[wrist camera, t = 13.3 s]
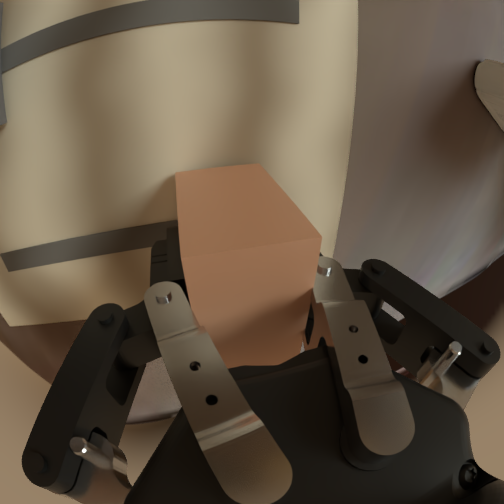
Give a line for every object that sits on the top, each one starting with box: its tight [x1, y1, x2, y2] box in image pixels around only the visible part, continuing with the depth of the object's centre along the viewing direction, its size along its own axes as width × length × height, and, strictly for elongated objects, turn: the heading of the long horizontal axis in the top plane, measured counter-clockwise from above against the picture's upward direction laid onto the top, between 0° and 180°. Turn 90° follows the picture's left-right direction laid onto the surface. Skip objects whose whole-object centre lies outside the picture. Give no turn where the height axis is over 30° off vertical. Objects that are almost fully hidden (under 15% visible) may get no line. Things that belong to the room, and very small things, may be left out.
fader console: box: [0, 0, 358, 326], centre depth 11 cm, size 22×20×2 cm
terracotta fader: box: [175, 163, 322, 369], centre depth 11 cm, size 4×6×6 cm, turn 1°
